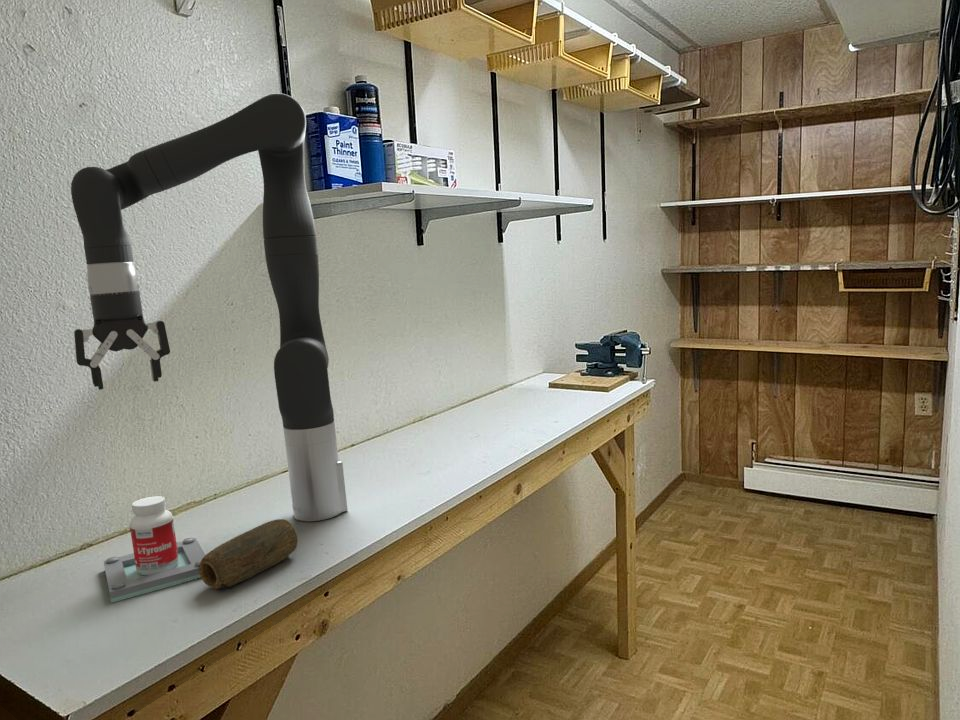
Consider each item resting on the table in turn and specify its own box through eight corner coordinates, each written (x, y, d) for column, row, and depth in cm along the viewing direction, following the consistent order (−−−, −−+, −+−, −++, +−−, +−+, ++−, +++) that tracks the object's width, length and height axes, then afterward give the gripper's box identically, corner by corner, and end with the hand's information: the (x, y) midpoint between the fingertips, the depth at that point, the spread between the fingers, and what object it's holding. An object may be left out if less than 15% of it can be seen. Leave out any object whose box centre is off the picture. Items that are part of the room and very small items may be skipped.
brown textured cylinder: (272, 551, 116) (267, 512, 115) (303, 557, 113) (298, 517, 112) (195, 591, 104) (189, 547, 103) (228, 599, 100) (222, 554, 99)
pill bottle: (136, 580, 107) (125, 510, 106) (137, 565, 113) (127, 499, 111) (180, 570, 110) (169, 502, 108) (179, 556, 115) (169, 491, 114)
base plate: (196, 546, 121) (195, 535, 120) (212, 574, 109) (211, 562, 108) (104, 570, 113) (103, 558, 113) (111, 602, 102) (109, 589, 101)
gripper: (157, 287, 126) (169, 376, 128) (65, 294, 118) (80, 389, 121) (163, 286, 119) (176, 381, 122) (66, 294, 112) (82, 394, 114)
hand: (128, 385), depth 121 cm, fingers open, 8 cm apart
